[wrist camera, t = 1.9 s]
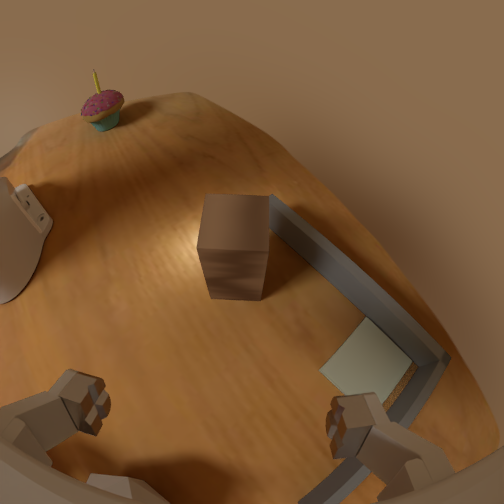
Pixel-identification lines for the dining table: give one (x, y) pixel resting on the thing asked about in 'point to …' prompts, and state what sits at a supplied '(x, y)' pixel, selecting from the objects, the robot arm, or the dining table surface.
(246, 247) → the walnut block
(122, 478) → the die
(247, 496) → the dining table surface
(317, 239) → the grey l-shaped bracket
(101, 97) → the cupcake
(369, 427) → the robot arm
